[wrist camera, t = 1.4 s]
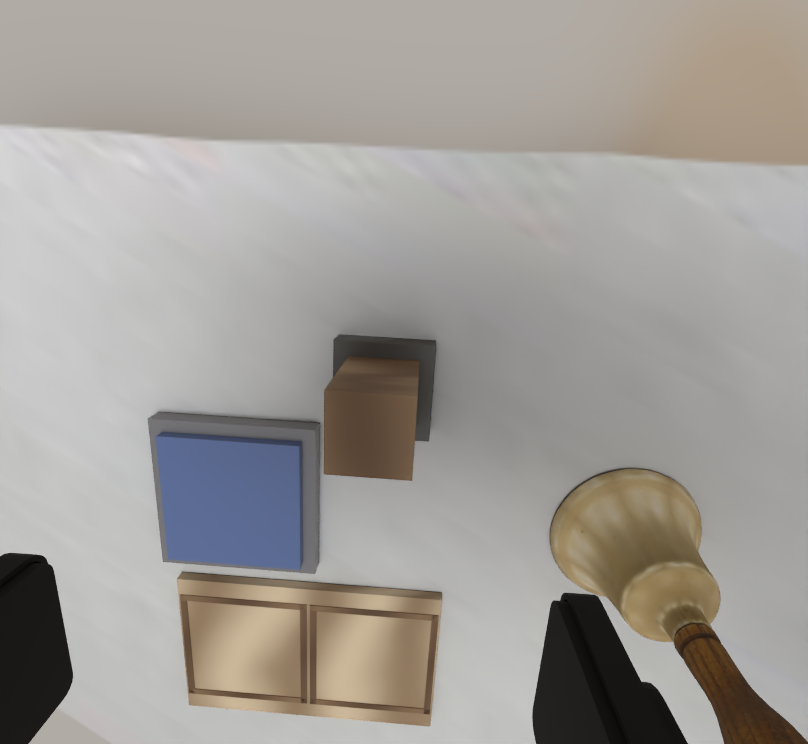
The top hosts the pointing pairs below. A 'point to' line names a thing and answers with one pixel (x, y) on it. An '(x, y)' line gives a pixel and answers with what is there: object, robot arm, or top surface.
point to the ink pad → (237, 491)
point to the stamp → (377, 405)
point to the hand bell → (660, 585)
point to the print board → (309, 647)
